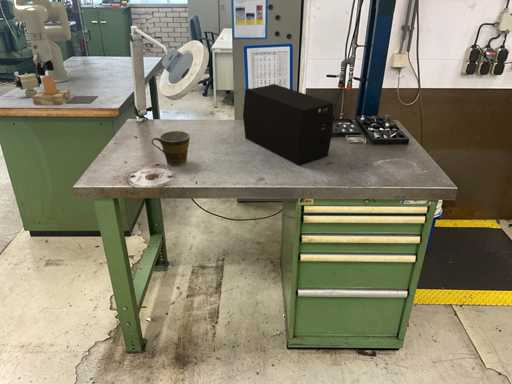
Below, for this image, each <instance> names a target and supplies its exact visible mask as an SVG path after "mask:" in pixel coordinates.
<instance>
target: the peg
mask: <svg viewBox="0 0 512 384" xmlns="http://www.w3.org/2000/svg"><path fill="white" fill-rule="evenodd" d="M41 81H42V84H43V90H45V94H46V95H55V94H56V93H57V90H58V89H57V85H56V83H55V81H54V77H53V76H48V75H45V76H42V77H41Z"/></svg>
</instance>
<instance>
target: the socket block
mask: <svg viewBox="0 0 512 384" xmlns="http://www.w3.org/2000/svg"><path fill="white" fill-rule="evenodd" d="M56 90H57V93H56V94H55V95H46V94H45V90H44V89H43V90H41V91H40V92H37V94H36V95H34V96H33V97H31V98H32V102H33V105H34V106H62V105H63V104H64V103H66V102H67V101H69V100H70V99H71V98H72V96H71V92H70V89H56Z"/></svg>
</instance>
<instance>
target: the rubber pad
mask: <svg viewBox="0 0 512 384" xmlns="http://www.w3.org/2000/svg"><path fill="white" fill-rule="evenodd" d="M98 97H99V95H74V96H73V97H71V98H69V99H68V100H67V101H65V104H81V105H83V104H85V105H86V104H89V105H90V104H91V103H93V102H94V101H95V100H96V99H97V98H98Z"/></svg>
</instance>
